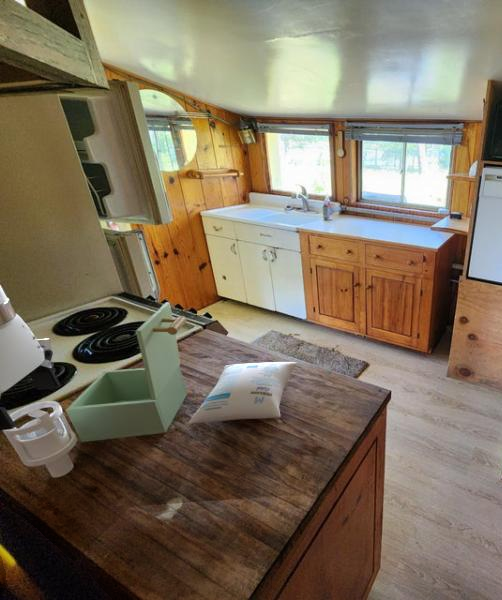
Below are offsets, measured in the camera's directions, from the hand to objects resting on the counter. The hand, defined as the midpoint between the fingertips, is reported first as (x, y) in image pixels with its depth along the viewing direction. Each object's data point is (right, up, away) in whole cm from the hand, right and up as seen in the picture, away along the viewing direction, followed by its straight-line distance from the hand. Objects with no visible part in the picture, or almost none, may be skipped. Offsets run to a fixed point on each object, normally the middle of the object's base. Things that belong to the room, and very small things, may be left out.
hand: (27, 407), depth 55 cm
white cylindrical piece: (-1, -14, +7) cm, 16 cm away
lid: (+12, +8, +14) cm, 20 cm away
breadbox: (+3, -8, +19) cm, 22 cm away
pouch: (+27, -7, +25) cm, 37 cm away
